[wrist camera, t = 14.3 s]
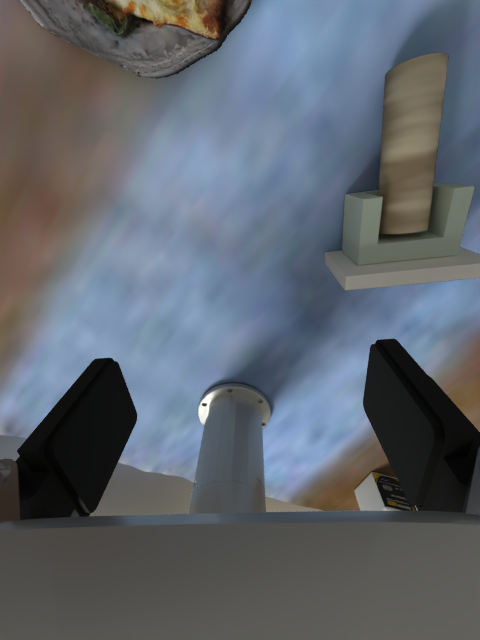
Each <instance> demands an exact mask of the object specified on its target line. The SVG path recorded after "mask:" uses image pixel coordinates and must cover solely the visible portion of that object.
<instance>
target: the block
mask: <svg viewBox="0 0 480 640" xmlns="http://www.w3.org/2000/svg"><path fill="white" fill-rule="evenodd" d="M474 188H475V186H470V185H459V184H447V183H434V184H433V192H432V200H431V209H430V217H429V226H428V230H426V231H421V232H414V233H403V234H379V226H380V217H381V209H382V200H383V197H380V196H378V193H379V190H373V191H365V192H357V193H349V194H345V201H344V219H343V237H342V251H343V252H344V253H345V254H346V255H347V256H348V257H349V258H351V259H352V260H353V261H354V262H355V263H356V264H357V265H365V264H375V263H385V262H395V261H404V260H414V259H424V258H434V257H444V256H454V255H458V251H459V247H460V243H461V239H462V235H463V231H464V227H465V223H466V219H467V215H468V212H469V208H470V204H471V200H472V196H473V192H474Z"/></svg>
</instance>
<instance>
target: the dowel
mask: <svg viewBox="0 0 480 640" xmlns="http://www.w3.org/2000/svg"><path fill="white" fill-rule="evenodd" d="M448 58H449V56H448V54H445V53H432V54H426V55H422V56H419V57H415V58H413V59H410V60H407V61H405V62H403V63H401V64H399V65H397V66H395V67H393V68H392V69H391V70H389V71H388V72H387V73H386V75H385V87H384V105H383V122H382V140H381V157H380V175H379V193H378V196H380V197H383V200H382V209H381V217H380V226H379V234H403V233H414V232H421V231H426V230H428V226H429V217H430V209H431V200H432V192H433V184H434V175H435V167H436V159H437V150H438V142H439V133H440V125H441V117H442V108H443V100H444V92H445V83H446V75H447V66H448Z"/></svg>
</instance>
